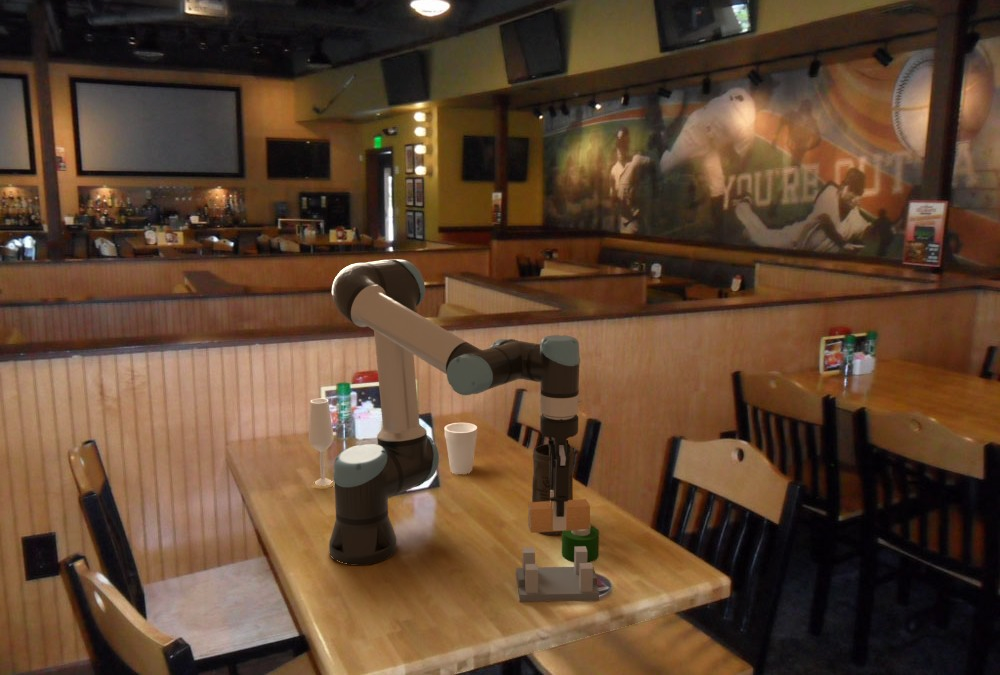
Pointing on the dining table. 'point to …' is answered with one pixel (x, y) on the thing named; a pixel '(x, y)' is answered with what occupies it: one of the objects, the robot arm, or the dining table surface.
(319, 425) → the champagne flute
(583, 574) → the jig
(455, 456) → the foam cup
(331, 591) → the dining table surface
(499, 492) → the dining table surface
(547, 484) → the beer stein
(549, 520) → the block
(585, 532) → the candle
